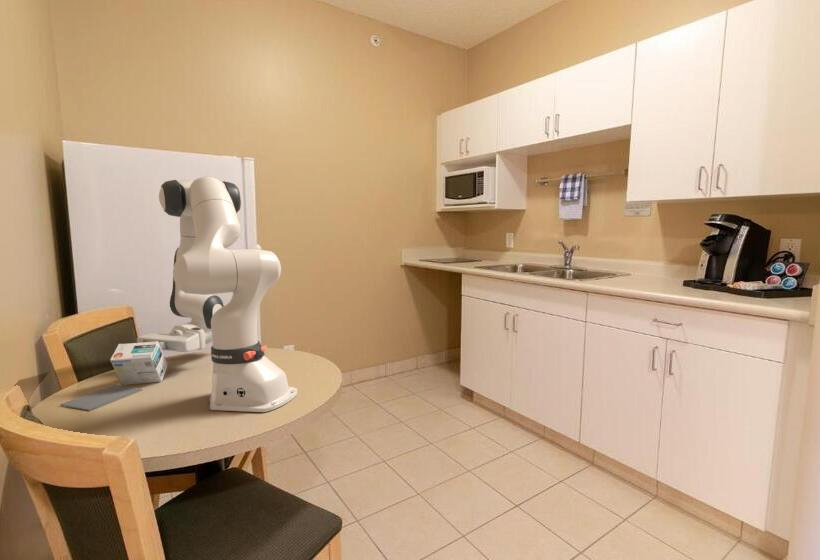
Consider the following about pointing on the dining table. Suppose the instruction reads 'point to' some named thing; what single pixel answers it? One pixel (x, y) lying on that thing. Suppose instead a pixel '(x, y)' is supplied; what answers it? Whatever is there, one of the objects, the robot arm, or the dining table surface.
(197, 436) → the dining table surface
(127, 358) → the light bulb box
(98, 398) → the mat
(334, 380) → the dining table surface
